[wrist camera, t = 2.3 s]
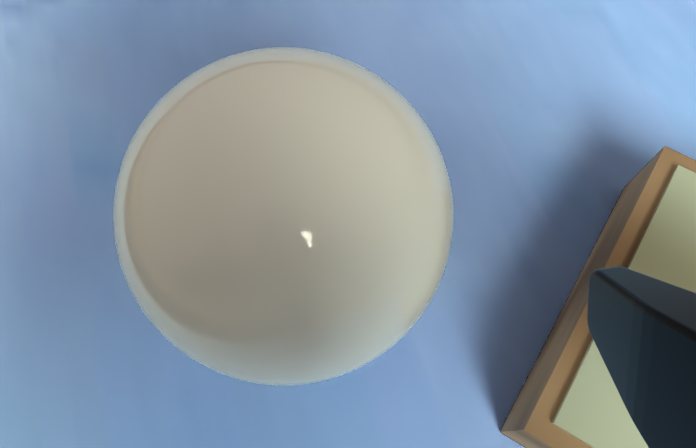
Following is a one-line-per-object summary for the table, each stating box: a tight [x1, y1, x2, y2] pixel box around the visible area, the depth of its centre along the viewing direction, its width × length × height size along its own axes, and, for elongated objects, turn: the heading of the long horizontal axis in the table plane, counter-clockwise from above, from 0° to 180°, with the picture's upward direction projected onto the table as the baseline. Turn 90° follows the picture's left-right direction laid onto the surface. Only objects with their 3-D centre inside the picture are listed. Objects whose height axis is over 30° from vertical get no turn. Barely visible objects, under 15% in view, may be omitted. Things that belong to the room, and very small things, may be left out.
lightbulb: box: [113, 47, 454, 386], centre depth 14 cm, size 6×6×11 cm
